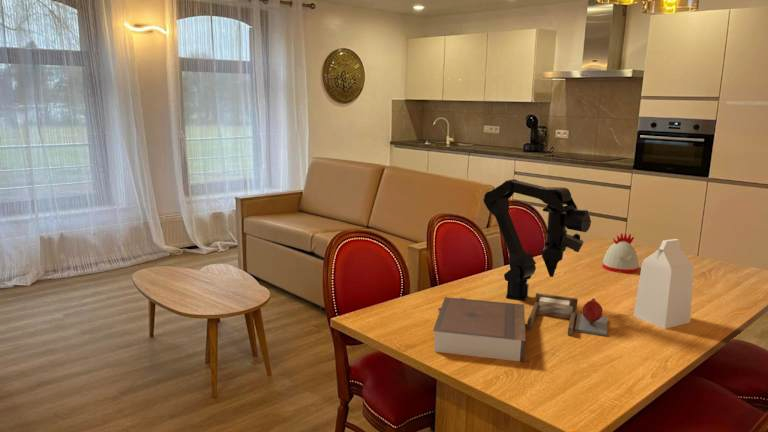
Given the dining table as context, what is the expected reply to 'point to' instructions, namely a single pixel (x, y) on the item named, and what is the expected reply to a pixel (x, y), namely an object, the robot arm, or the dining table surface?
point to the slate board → (591, 325)
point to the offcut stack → (554, 307)
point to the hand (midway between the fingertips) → (552, 272)
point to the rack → (572, 300)
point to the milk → (665, 287)
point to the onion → (592, 311)
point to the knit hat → (621, 256)
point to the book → (481, 329)
